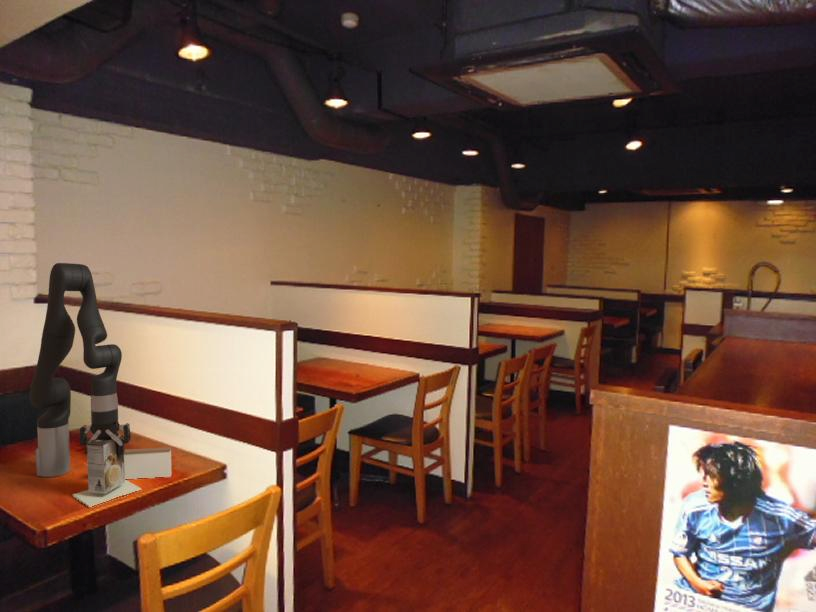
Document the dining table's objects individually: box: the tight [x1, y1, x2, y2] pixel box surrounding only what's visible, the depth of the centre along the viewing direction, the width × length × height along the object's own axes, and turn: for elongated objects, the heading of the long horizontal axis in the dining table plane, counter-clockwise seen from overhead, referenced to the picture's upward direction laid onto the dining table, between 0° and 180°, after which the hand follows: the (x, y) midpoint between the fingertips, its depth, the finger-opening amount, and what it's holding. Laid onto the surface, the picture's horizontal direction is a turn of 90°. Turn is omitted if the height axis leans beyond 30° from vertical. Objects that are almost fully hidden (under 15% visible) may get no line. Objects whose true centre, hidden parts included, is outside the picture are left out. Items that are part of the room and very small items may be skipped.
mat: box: [72, 480, 142, 508], centre depth 178 cm, size 16×12×1 cm
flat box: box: [124, 446, 172, 480], centre depth 190 cm, size 22×2×10 cm, turn 103°
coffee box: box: [86, 435, 125, 494], centre depth 177 cm, size 9×6×16 cm
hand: (106, 456), depth 176 cm, fingers closed on coffee box, 8 cm apart
